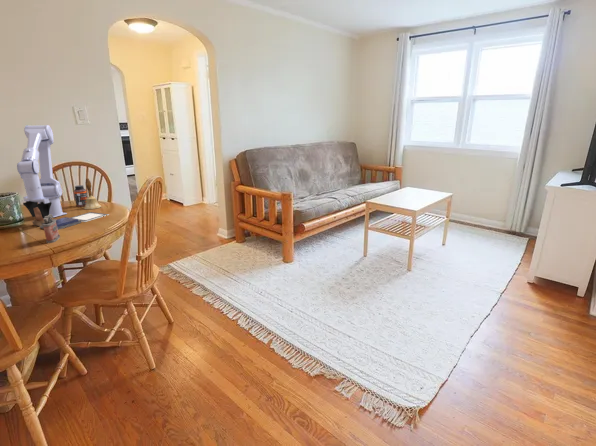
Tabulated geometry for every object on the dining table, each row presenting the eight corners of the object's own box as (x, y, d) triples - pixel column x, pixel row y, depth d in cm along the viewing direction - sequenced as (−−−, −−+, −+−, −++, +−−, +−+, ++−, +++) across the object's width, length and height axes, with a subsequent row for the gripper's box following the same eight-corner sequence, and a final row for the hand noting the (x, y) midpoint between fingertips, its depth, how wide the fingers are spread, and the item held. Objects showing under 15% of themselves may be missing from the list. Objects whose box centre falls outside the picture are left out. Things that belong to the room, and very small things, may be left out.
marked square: (66, 219, 163) (66, 218, 163) (91, 212, 174) (90, 211, 174) (85, 222, 158) (84, 221, 158) (109, 214, 169) (109, 214, 169)
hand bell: (91, 205, 188) (85, 177, 184) (104, 205, 187) (99, 177, 182) (80, 209, 181) (73, 179, 176) (93, 209, 179) (88, 180, 174)
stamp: (33, 225, 154) (28, 208, 151) (44, 222, 158) (40, 206, 156) (40, 226, 152) (36, 209, 150) (51, 223, 156) (47, 206, 154)
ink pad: (40, 228, 150) (39, 223, 149) (66, 220, 160) (65, 216, 160) (55, 230, 146) (54, 226, 146) (81, 222, 157) (80, 218, 156)
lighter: (54, 242, 132) (48, 218, 129) (44, 243, 131) (38, 219, 128) (61, 236, 139) (56, 212, 136) (52, 236, 138) (46, 213, 135)
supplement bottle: (83, 207, 185) (79, 187, 181) (74, 206, 186) (69, 186, 182) (91, 204, 190) (87, 184, 187) (82, 204, 191) (78, 184, 188)
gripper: (13, 188, 149) (21, 218, 153) (34, 191, 144) (41, 221, 148) (30, 185, 155) (37, 214, 159) (51, 187, 150) (58, 217, 154)
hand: (40, 217), depth 154 cm, fingers open, 7 cm apart
